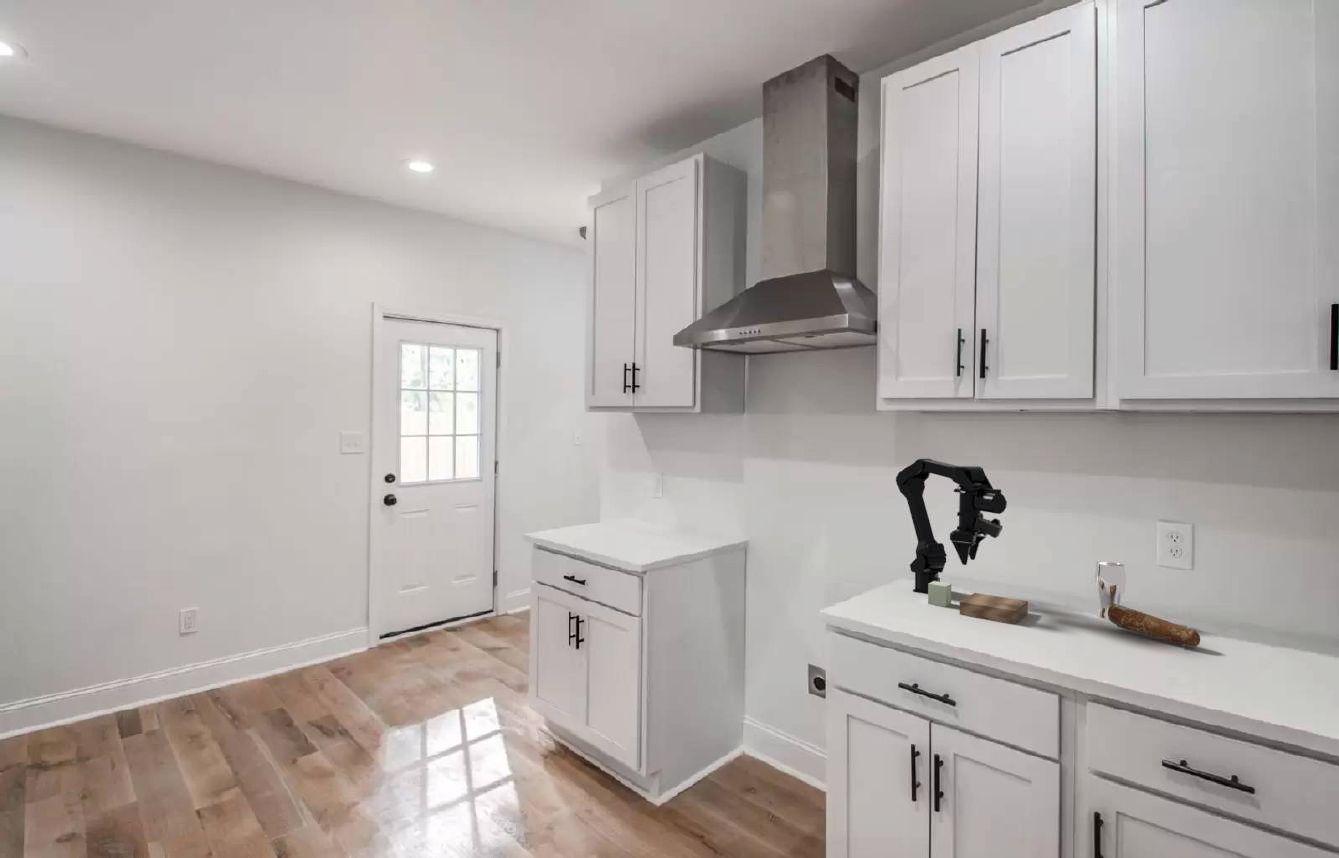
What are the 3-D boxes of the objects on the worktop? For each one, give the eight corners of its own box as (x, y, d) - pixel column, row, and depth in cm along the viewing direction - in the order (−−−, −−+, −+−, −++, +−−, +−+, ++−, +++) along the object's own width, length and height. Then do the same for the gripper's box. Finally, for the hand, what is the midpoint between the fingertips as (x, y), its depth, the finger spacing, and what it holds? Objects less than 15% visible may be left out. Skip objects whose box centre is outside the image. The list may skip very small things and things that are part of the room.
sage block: (928, 604, 191) (928, 583, 192) (933, 600, 195) (934, 580, 195) (945, 607, 188) (945, 586, 188) (951, 603, 192) (951, 583, 192)
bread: (1112, 626, 170) (1117, 605, 170) (1202, 650, 153) (1206, 627, 154) (1101, 621, 166) (1106, 600, 167) (1192, 645, 150) (1196, 622, 151)
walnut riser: (959, 616, 180) (959, 601, 180) (974, 606, 191) (974, 592, 191) (1015, 626, 171) (1015, 611, 171) (1027, 615, 182) (1027, 601, 182)
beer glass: (1099, 620, 175) (1099, 565, 176) (1091, 614, 182) (1091, 560, 182) (1129, 623, 173) (1129, 567, 174) (1119, 616, 180) (1120, 562, 180)
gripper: (992, 515, 178) (991, 572, 178) (1007, 508, 193) (1005, 561, 193) (949, 511, 185) (948, 565, 185) (966, 505, 200) (965, 555, 200)
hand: (968, 562), depth 191 cm, fingers open, 9 cm apart
